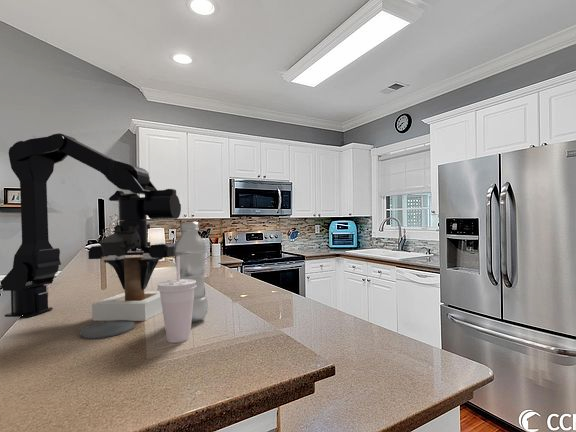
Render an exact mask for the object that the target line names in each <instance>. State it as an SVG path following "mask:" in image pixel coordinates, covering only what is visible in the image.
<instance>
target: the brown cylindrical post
mask: <svg viewBox="0 0 576 432" xmlns="http://www.w3.org/2000/svg"><path fill="white" fill-rule="evenodd" d="M128 257H129V256H128ZM140 259H143V256H130V257H129V258H126V257H125V258H124V280H125V290H124V292H125V301H142V300H144V291H145V289H144V290H142V288H141V266H140V264H139V262H138V260H140Z"/></svg>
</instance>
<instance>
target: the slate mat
mask: <svg viewBox="0 0 576 432" xmlns="http://www.w3.org/2000/svg"><path fill="white" fill-rule="evenodd" d="M135 327H136V326H135V322H134V321H130V320H113V321H101V322H98V323H94V324H91V325H89V326H85V327H84V328H82V329H81V330H80V333H79V335H80V337H81V338H83V339H88V340H90V339H94V340H95V339H97V340H98V339H105V338H111V337H115V336H116V337H117V336H119V335H123V334H125V333H128V332H130V331H131V330H133V329H134V328H135Z"/></svg>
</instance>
